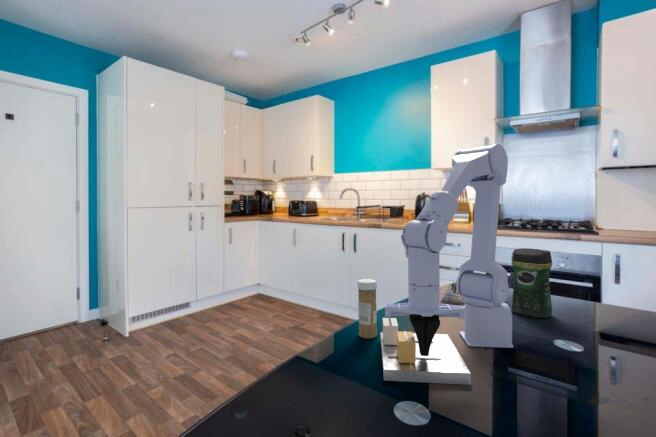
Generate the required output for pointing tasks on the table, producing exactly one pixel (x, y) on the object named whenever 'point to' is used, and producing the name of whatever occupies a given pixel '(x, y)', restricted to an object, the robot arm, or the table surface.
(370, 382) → the table surface
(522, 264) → the coffee jar
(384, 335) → the fader knob white
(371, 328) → the sprinkles bottle
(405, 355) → the fader knob orange
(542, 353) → the table surface
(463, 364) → the fader panel
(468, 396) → the table surface
